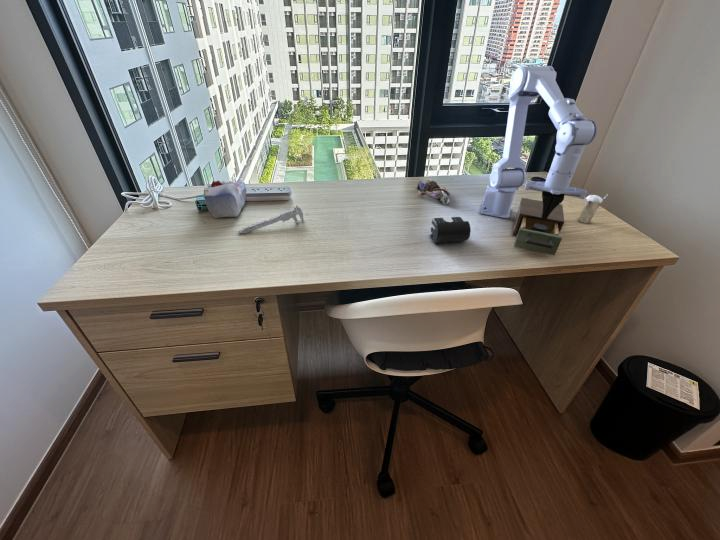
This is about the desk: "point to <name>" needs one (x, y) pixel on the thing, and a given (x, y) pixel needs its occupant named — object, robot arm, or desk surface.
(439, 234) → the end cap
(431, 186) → the warrior figurine
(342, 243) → the desk surface
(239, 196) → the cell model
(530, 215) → the cabinet
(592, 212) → the milkshake
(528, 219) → the drawer
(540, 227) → the cylinder
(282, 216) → the caliper
